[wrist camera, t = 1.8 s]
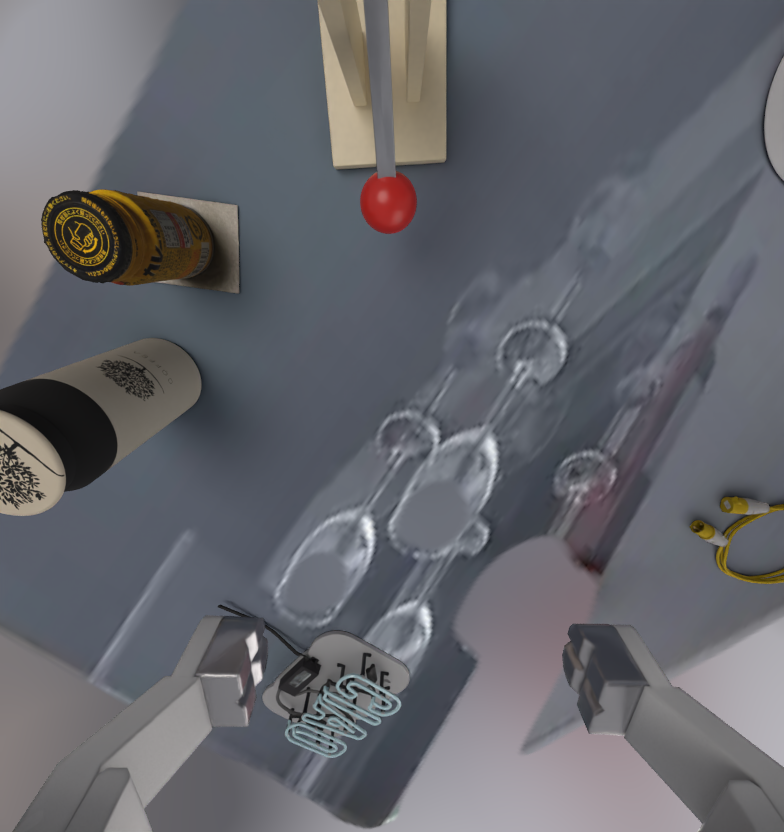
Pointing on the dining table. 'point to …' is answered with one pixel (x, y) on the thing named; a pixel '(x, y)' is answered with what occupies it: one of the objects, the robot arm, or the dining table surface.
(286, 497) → the dining table surface
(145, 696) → the robot arm
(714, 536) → the extension cord
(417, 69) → the switch bracket
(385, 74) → the switch lever
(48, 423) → the travel mug
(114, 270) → the condiment
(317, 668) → the neon sign
